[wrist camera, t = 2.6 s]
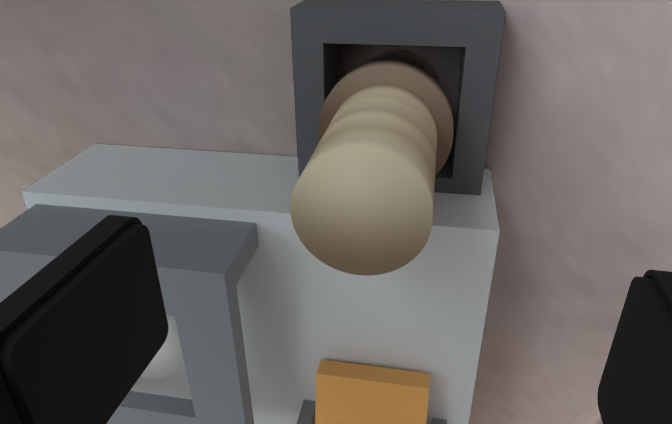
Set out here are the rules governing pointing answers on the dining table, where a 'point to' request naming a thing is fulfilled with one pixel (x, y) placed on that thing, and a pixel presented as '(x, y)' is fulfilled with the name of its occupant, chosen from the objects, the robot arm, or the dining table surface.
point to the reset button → (166, 355)
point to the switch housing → (265, 284)
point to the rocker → (370, 394)
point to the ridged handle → (375, 166)
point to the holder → (413, 30)
